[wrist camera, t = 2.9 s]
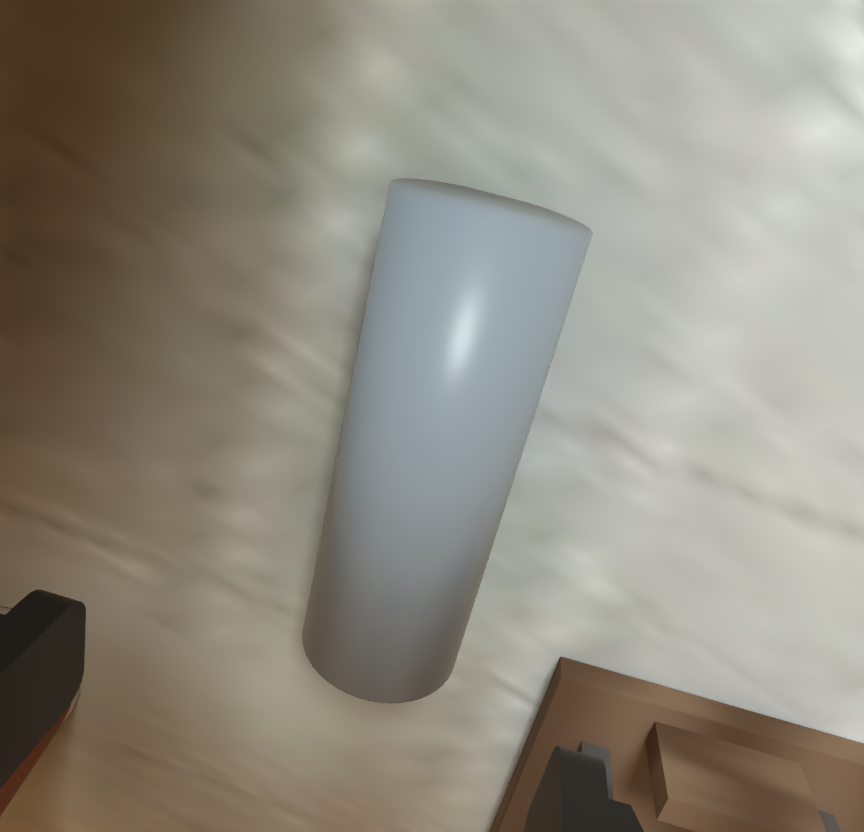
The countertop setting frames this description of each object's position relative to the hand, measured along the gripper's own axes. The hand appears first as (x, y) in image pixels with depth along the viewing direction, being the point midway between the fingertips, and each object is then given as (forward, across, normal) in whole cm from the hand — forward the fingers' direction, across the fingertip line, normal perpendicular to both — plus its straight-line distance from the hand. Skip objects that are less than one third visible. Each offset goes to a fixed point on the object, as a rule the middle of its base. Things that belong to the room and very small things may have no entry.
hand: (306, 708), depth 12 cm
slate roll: (+12, 0, 0) cm, 12 cm away
